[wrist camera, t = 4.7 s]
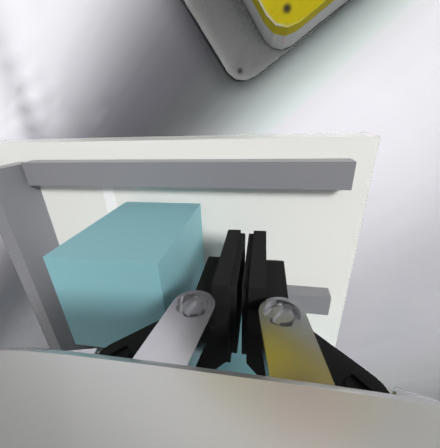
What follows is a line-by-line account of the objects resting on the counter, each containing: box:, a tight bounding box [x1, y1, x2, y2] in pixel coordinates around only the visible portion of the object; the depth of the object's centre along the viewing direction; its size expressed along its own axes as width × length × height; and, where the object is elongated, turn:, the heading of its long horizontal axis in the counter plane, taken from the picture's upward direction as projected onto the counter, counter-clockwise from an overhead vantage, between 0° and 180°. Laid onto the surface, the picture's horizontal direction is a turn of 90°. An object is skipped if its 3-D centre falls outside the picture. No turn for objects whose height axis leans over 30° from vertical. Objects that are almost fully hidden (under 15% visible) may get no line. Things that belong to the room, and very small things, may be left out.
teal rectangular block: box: [43, 202, 205, 348], centre depth 11 cm, size 4×4×6 cm
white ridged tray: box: [0, 132, 380, 352], centre depth 17 cm, size 20×24×4 cm
